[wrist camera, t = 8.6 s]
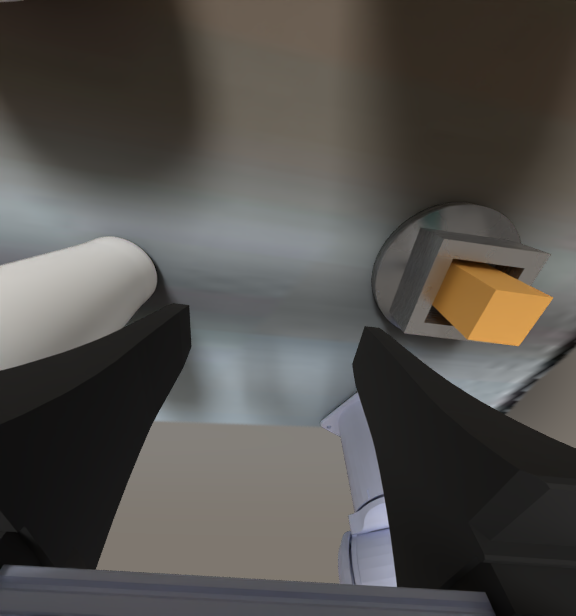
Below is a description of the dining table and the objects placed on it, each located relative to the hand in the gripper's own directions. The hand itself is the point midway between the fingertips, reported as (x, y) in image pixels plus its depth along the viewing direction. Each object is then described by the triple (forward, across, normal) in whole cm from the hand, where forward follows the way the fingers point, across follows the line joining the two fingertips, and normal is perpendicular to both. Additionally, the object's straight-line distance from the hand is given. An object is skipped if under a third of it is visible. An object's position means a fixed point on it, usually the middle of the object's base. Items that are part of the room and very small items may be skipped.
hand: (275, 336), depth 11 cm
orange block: (+9, -12, -1) cm, 15 cm away
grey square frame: (+10, -12, -1) cm, 15 cm away
